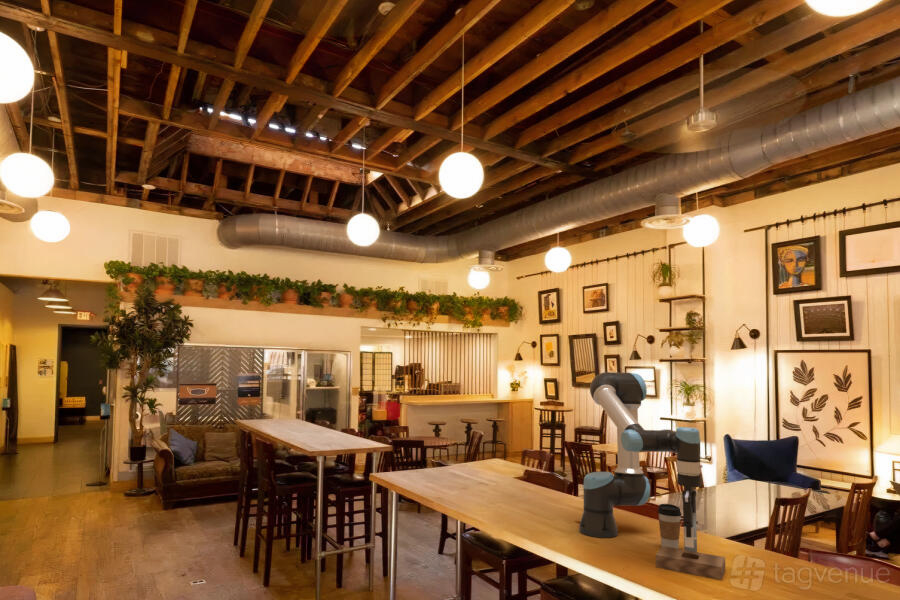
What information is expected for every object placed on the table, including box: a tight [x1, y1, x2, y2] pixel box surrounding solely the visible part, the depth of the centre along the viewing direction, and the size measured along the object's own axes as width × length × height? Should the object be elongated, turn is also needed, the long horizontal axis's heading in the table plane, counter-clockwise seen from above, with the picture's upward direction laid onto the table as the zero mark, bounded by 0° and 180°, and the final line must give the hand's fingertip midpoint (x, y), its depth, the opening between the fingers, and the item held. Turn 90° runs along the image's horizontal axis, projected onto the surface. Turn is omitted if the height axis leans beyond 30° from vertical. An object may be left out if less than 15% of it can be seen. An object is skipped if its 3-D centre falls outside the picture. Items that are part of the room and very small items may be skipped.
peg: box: [683, 512, 698, 552], centre depth 190 cm, size 4×4×12 cm
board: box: [655, 545, 726, 581], centre depth 189 cm, size 20×12×4 cm, turn 59°
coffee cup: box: [657, 503, 682, 549], centre depth 212 cm, size 8×8×15 cm
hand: (690, 545), depth 190 cm, fingers closed on peg, 4 cm apart
